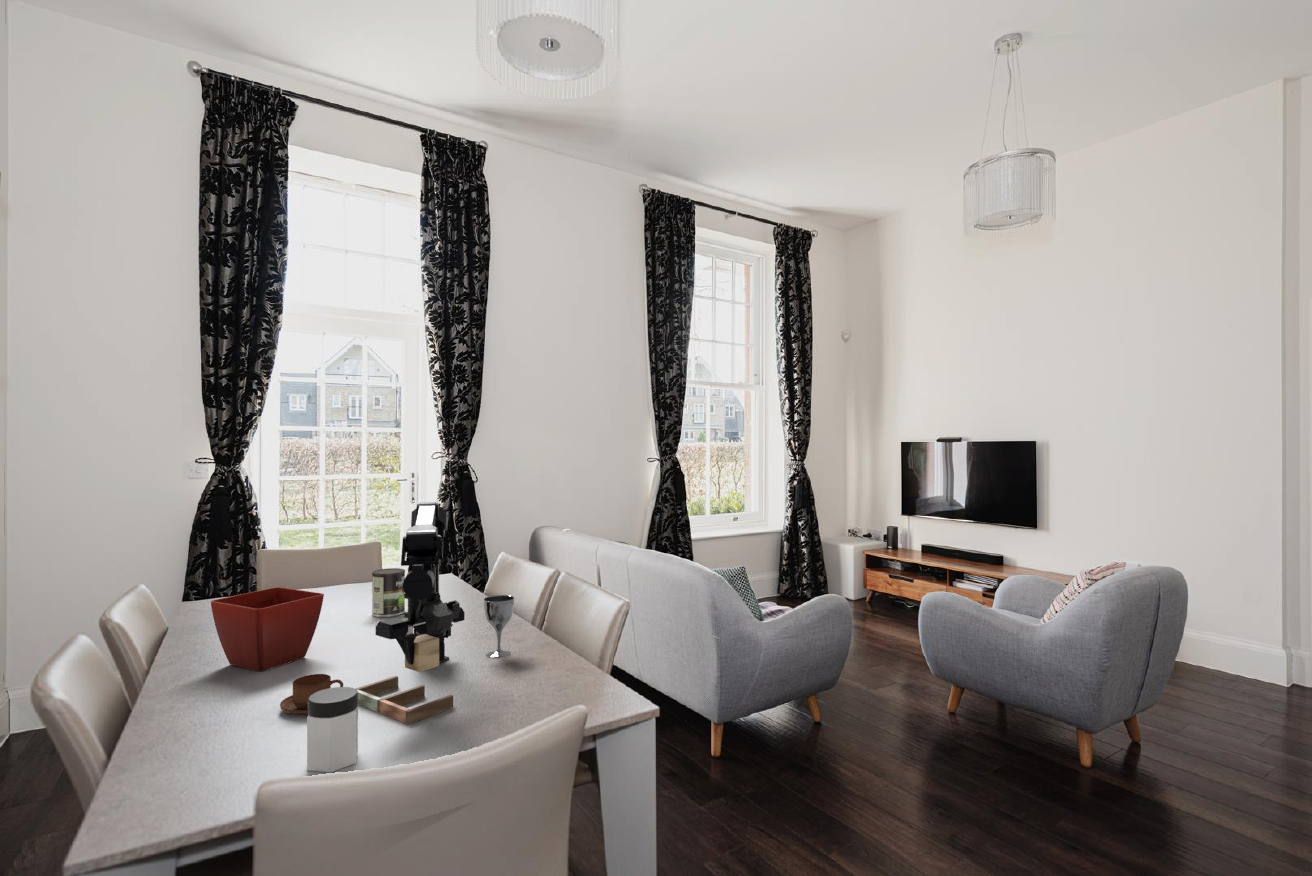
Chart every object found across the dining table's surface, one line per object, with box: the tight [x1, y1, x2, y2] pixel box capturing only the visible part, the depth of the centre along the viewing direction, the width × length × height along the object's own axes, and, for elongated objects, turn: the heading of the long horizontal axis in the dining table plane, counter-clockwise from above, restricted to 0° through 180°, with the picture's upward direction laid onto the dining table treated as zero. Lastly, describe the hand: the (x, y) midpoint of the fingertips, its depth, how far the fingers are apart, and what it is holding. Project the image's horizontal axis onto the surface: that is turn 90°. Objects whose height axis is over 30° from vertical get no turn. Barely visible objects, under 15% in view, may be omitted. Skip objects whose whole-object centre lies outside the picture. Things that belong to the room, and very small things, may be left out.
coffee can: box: [371, 567, 406, 618], centre depth 227 cm, size 10×10×14 cm
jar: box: [306, 686, 359, 773], centre depth 122 cm, size 9×8×12 cm
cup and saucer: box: [279, 673, 344, 715], centre depth 147 cm, size 12×12×6 cm
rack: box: [355, 675, 454, 725], centre depth 149 cm, size 21×11×2 cm, turn 54°
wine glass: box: [483, 594, 515, 659], centre depth 184 cm, size 8×8×15 cm
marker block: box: [404, 634, 440, 673], centre depth 147 cm, size 5×5×6 cm
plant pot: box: [210, 586, 325, 672], centre depth 178 cm, size 19×19×17 cm
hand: (421, 660), depth 147 cm, fingers closed on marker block, 5 cm apart
